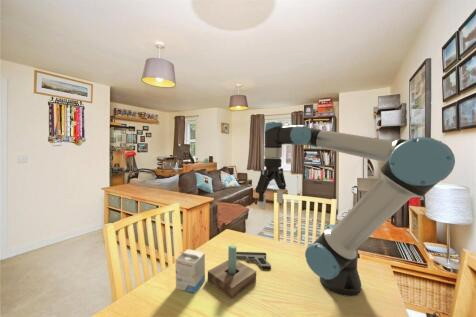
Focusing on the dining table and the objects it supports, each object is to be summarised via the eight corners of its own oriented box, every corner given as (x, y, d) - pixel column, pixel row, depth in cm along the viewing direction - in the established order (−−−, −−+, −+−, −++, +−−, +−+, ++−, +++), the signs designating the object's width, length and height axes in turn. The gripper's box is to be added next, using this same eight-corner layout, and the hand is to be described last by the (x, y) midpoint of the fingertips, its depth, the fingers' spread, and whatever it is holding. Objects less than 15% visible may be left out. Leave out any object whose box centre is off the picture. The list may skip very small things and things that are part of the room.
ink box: (205, 280, 83) (205, 248, 82) (194, 294, 75) (194, 259, 74) (187, 275, 86) (187, 244, 85) (175, 288, 78) (175, 254, 77)
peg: (237, 280, 83) (238, 247, 82) (231, 284, 81) (232, 250, 80) (231, 276, 85) (232, 244, 85) (226, 280, 83) (226, 247, 82)
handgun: (271, 266, 91) (268, 252, 103) (234, 265, 91) (234, 251, 103) (271, 270, 91) (267, 256, 103) (233, 269, 91) (234, 255, 103)
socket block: (256, 280, 83) (256, 271, 83) (231, 298, 73) (232, 288, 73) (231, 266, 93) (232, 257, 93) (207, 280, 83) (207, 271, 83)
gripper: (280, 156, 101) (279, 199, 102) (247, 158, 83) (246, 209, 84) (294, 157, 96) (292, 202, 97) (262, 159, 77) (261, 214, 79)
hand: (271, 205), depth 90 cm, fingers open, 13 cm apart
